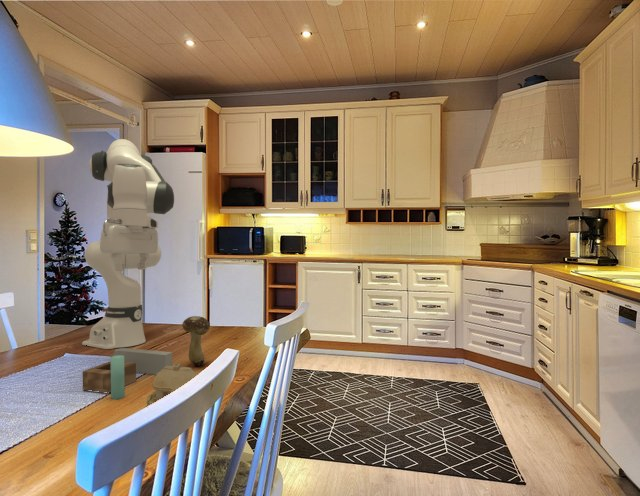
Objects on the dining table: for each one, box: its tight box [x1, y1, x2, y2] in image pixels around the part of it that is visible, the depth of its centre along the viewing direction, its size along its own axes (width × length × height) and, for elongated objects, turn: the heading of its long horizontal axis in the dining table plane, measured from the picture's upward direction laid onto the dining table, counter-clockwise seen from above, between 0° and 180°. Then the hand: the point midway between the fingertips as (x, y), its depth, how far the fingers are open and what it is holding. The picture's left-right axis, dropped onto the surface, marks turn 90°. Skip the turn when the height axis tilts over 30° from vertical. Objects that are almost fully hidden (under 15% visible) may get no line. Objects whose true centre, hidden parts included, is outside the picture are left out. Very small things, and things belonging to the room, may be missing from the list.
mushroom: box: [181, 315, 211, 367], centre depth 128 cm, size 9×9×15 cm
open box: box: [81, 360, 137, 393], centre depth 111 cm, size 8×10×5 cm
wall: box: [113, 347, 173, 376], centre depth 122 cm, size 18×3×6 cm, turn 73°
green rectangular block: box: [110, 355, 126, 400], centre depth 102 cm, size 3×3×10 cm
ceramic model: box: [146, 362, 199, 406], centre depth 97 cm, size 14×11×10 cm
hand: (131, 270), depth 116 cm, fingers open, 8 cm apart
